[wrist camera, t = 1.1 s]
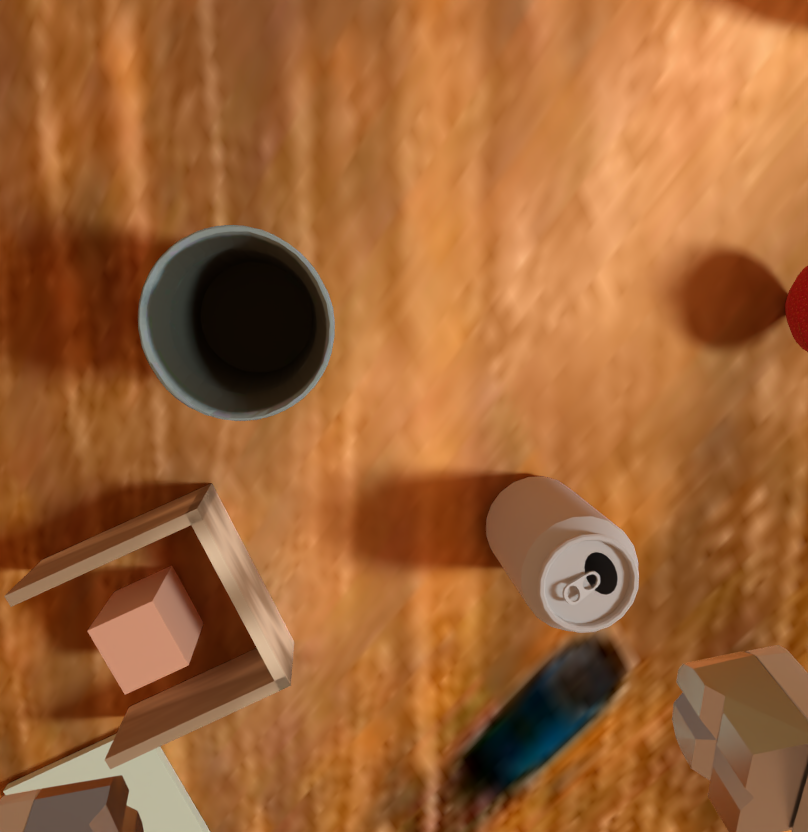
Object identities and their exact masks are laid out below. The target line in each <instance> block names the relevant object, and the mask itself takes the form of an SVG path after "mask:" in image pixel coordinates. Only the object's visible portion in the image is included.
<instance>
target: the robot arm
mask: <svg viewBox="0 0 808 832" xmlns="http://www.w3.org/2000/svg"><path fill="white" fill-rule="evenodd" d="M677 684H678V685H679V687H680V688H681V690H682V691H683V693H682V694H681V695H680V696H679V698H678V699H677V700H676V701H675V702H674V705H673V717H672V720H673V725H674V730H675V734H676V738H677V741H678V743H679V746H680V748H681V751H682V753H683V755H684V756H685V758H686V760H687V762H688V763H689V765H690V767H691V769H693V770H694V771H696V772H698V773H699V774H701V775H702V776H704V777H705V778H707V779H708V780H710V782H709V791H708V798H709V799H710V801H711V803H712V804H713V806H714V808H715V809H716V811H717V813H718V814H719V816H720V818H721V819H722V821H723V823H724V824H725V826H726V828H727V830H728V831H729V832H782V831H788V830H792V832H808V673H807V672H806V671H805V670H804V668H803V667H802V666H801V665H800V664H799V663H798V662H797V661H796V659H795V658H794V657H793V656H792V655H791V654H790V653H789V652H788V650H786V649H785V648H783V647H781V646H779V645H776V646H770V647H765V648H760V649H755V650H750V651H746V652H742V651H741V652H736V653H732V654H727V655H722V656H717V657H713V658H708V659H703V660H699V661H694V662H689V663H684V664H683V665H682V666H681V667H680V668H679V670H678V676H677ZM128 794H129V789H128V787H127V785H126V782H125V780H124V778H123V776H122V775H120V776H113V777H107V778H101V779H96V780H90V781H84V782H78V783H72V784H66V785H60V786H54V787H48V788H42V789H37V790H31V791H26V792H21V793H15V794H10V795H4V796H3V797H2V798H1V800H0V832H144V830H143V824H142V821H141V818H140V815H139V813H138V811H137V810H135V809H133V808H131V807H129V806H127V799H128Z"/></svg>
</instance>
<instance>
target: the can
mask: <svg viewBox="0 0 808 832" xmlns="http://www.w3.org/2000/svg"><path fill="white" fill-rule="evenodd" d="M486 536H487V539H488V542H489V545H490V548H491V550H492V552H493V553H494V555H495V556H496V558H497V559H498V561H499V562H500V564H501V565H502V567H503V568H504V570H505V571H506V573H507V574H508V576H509V578H510V579H511V581H512V582H513V584H514V585H515V587H516V588H517V590H518V591H519V593H520V594H521V596H522V597H523V599H524V600H525V602H526V603H527V605H528V606H529V607H530V609H531V610H532V611H533V613H534V614H535V615H536V617H537V618H539V619H540V620H542V621H544V622H545V623H547V624H548V625H550V626H551V627H554V628H558V629H562V630H566V631H574V632H578V633H584V632H596V631H598V630H601V629H604V628H606V627H609V626H611V625H612V624H613V623H615V622H616V621H617V620H619V619H620V618H621V617H623V616H624V614H625V613H626V612H627V610H628V609H629V608H630V606H631V605H632V604H633V601H634V598H635V596H636V593H637V590H638V582H639V572H638V559H637V556H636V552H635V549H634V545H633V544H632V543H631V541H630V540H629V538H628V537H627V535H626V534H625V533H624V531H623V530H621V529H620V528H619V527H618V526H616V525H615V524H614V523H613V522H611V521H610V520H609V519H607V518H606V517H605V516H604V515H602V514H601V513H600V512H599V511H597V510H596V509H595V508H594V507H592V506H591V505H590V504H589V503H587V502H586V501H585V500H584V499H582V498H581V497H580V496H579V495H577V494H576V493H575V492H573V491H572V490H571V489H570V488H568V487H567V486H565V485H564V484H562V483H561V482H560V481H558V480H555V479H551V478H548V477H544V476H541V477H527V478H524V479H521V480H519V481H516V482H513V483H512V484H511V485H509V486H508V487H507V488H505V489H504V490H503V491H501V492H500V493H499V495H498V496H497V498H496V499H495V500H494V502H493V503H492V504H491V507H490V510H489V513H488V516H487V519H486Z"/></svg>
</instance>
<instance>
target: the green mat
mask: <svg viewBox="0 0 808 832" xmlns="http://www.w3.org/2000/svg"><path fill="white" fill-rule="evenodd" d="M115 736H116V734H114V735H112V736H110V737H108V738H106V739H104V740H101V741H99V742H97V743H95V744H93V745H91V746H89V747H86V748H84V749H82V750H80V751H78V752H76V753H73V754H71V755H69V756H67V757H65V758H63V759H60V760H58V761H56V762H54V763H52V764H50V765H47V766H45V767H43V768H41V769H39V770H37V771H34V772H32V773H30V774H28V775H26V776H24V777H22V778H19V779H17V780H15V781H13V782H11V783H9V784H7V786H6V787H5V789H4V791H3V792H4V794H5V795H10V794H15V793H21V792H26V791H31V790H37V789H42V788H48V787H54V786H60V785H66V784H72V783H78V782H84V781H90V780H96V779H101V778H107V777H113V776H120V775H122V776H123V778H124V780H125V782H126V785H127V787H128V789H129V794H128V799H127V806H129V807H131V808H133V809H135V810H137V811H138V813H139V815H140V818H141V821H142V824H143V830H144V832H210V831H209V829H208V827H207V825H206V824H205V822H204V820H203V819H202V817H201V815H200V814H199V812H198V810H197V808H196V807H195V805H194V803H193V802H192V800H191V798H190V797H189V795H188V793H187V791H186V790H185V788H184V786H183V785H182V783H181V781H180V780H179V778H178V776H177V774H176V773H175V771H174V769H173V768H172V766H171V764H170V763H169V761H168V759H167V757H166V756H165V754H164V752H163V751H162V749H161V747H158V748H155V749H153V750H151V751H149V752H147V753H145V754H143V755H140V756H138V757H136V758H134V759H132V760H130V761H127V762H125V763H123V764H121V765H119V766H117V767H115V768H112V769H110V768H109V766H108V765H107V763H106V762H105V758H106V755H107V753H108V751H109V749H110V747H111V745H112V742H113V740H114V738H115Z"/></svg>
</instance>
